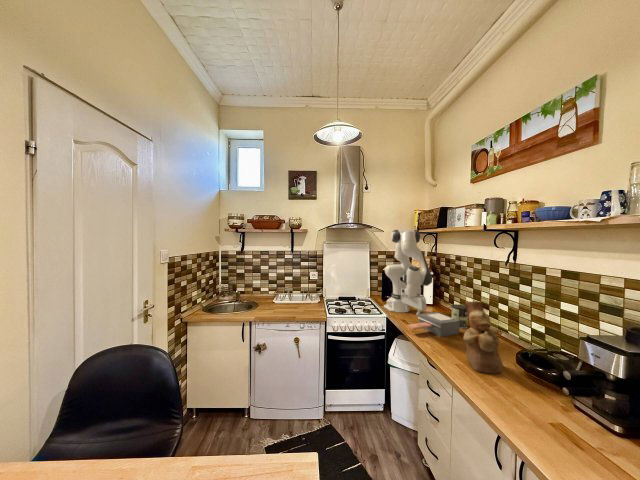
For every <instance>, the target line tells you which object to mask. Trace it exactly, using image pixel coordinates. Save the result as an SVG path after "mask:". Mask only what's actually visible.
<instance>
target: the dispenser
mask: <svg viewBox="0 0 640 480" xmlns="http://www.w3.org/2000/svg"><path fill="white" fill-rule="evenodd" d="M451 317H452V316H448V315H447V314H443V313H440V312H439V311H435V312H428V313H420V316H417V319H418V323H424V322H427V323H430V324H432V325H433V327H428V328H422V329H423V330H425V331H428V332H430V333H432V334H433V335H436V336H438V337H440V338H442V337H448V336H453V335H454V334H455V335H460V333H461V332H460V331H461V330H460V329H461V328H460V321H459V320H456V319H454V318H451Z"/></svg>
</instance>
